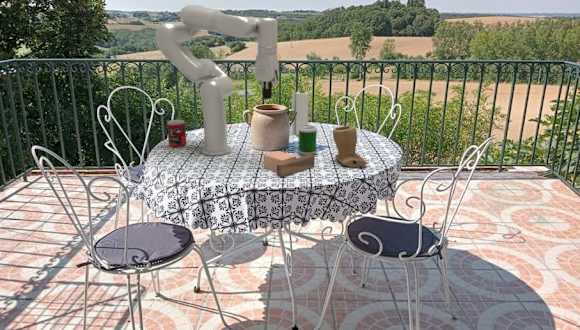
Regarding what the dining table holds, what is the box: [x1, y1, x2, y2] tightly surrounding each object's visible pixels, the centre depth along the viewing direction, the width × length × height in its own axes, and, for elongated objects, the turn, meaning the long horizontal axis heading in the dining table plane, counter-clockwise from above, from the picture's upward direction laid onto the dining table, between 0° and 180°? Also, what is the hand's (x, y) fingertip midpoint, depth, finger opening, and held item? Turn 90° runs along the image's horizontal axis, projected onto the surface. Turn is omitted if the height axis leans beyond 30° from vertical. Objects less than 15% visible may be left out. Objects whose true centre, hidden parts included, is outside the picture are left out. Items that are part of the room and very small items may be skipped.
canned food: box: [166, 119, 187, 148], centre depth 202 cm, size 8×8×11 cm
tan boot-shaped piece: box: [332, 125, 368, 168], centre depth 178 cm, size 15×12×15 cm
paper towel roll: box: [291, 91, 310, 137], centre depth 220 cm, size 7×6×21 cm
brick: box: [263, 150, 298, 173], centre depth 173 cm, size 10×8×6 cm
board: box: [276, 154, 316, 178], centre depth 170 cm, size 3×18×4 cm, turn 136°
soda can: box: [298, 124, 318, 156], centre depth 190 cm, size 8×8×12 cm
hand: (267, 98), depth 179 cm, fingers closed
